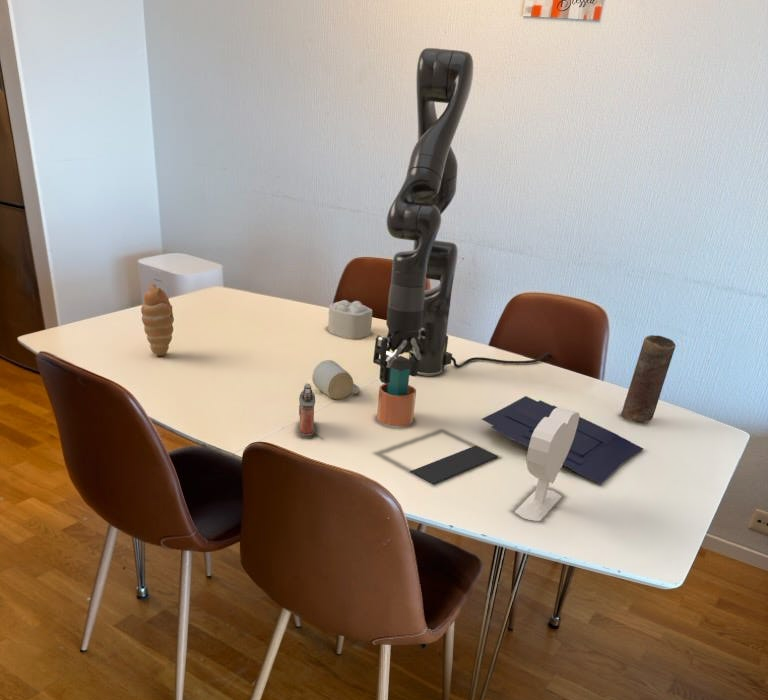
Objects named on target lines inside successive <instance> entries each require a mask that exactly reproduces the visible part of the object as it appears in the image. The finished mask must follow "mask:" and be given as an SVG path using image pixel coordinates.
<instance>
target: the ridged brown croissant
mask: <svg viewBox="0 0 768 700" xmlns="http://www.w3.org/2000/svg"><path fill="white" fill-rule="evenodd" d="M169 299H170V298H169V297H168V295H167V293H166V292H165V291H164V290H162V289H161V287H157V285H156V284H155V283H154V282H152V283H151V286H150V288H148V289H147V290H146V291H145V292H144V295H143V303H142V305H141V309H140V313H141V315H142V316H141V322H142V324H143V330H144V333H145V335H146V339H147V342H148V343H149V348H150V350H151V352H152V354H153V355H155V356H156V357H157V356H158V357H162V356H165V355H166V354H167V353H168V351H169V348H170V344H171V342H172V340H173V333H174V326H173V324H174V321H175V318H174V317H175V316H174V313H173V306H172V304H171V302H170V300H169Z"/></svg>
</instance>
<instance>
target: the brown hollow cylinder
mask: <svg viewBox="0 0 768 700" xmlns="http://www.w3.org/2000/svg"><path fill="white" fill-rule="evenodd" d="M676 348H677V347H676V343H675V342H674V341H673V340H672V339H671V338H668V337H665V336H662V335H656V334H655V335H654V334H651V335H647V336H645V337H644V339H643V341H642V345H641V349H640V351H639V355H638V357H637V361H636V364H635V367H634V371H633V375H632V377H631V380H630V381H631V382H630V384H629V388H628V391H627V393H626V397H625V400H624V403H623V405H622V409H621V414H620V415H621V416H622V417H623V418H624V419H625V420H630V421H633V422H636V423H641V424H642V423H647V422H650V421H651V420H653V418H654V416H655V412H656V409H657V406H658V403H659V400H660V396H661V393H662V390H663V387H664V384H665V381H666V380H665V379H666V377H667V374H668V371H669V368H670V365H671V363H672V359H673V356H674V352H675V349H676Z"/></svg>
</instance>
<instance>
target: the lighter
mask: <svg viewBox="0 0 768 700" xmlns="http://www.w3.org/2000/svg"><path fill="white" fill-rule="evenodd" d="M298 403H299V405H298V415H299V423H298V435H299V436H300V438H303V439H311V438H313V437H314V435H315V423H314V422H315V421H314V420H315V405H316V395H315V392H314V391H313V389H312V385H311V383H306V382H305V384H304V385H303V390H302V391H301V392H300V394H299V397H298Z"/></svg>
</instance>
